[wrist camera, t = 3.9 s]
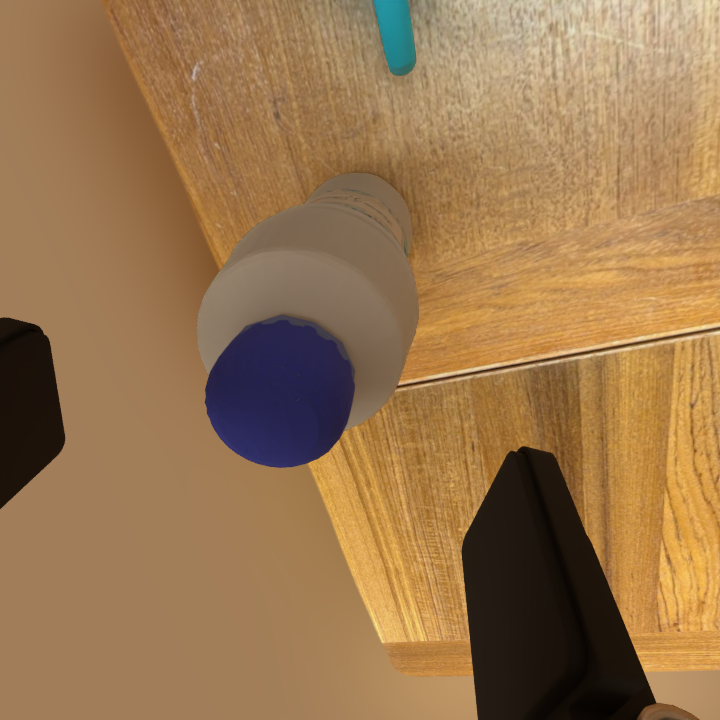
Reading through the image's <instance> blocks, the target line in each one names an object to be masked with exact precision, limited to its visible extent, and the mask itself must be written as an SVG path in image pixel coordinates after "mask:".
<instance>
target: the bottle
mask: <svg viewBox="0 0 720 720" xmlns="http://www.w3.org/2000/svg"><path fill="white" fill-rule="evenodd" d="M412 235H413V229H412V220H411V216H410V212H409V209H408V206H407V204H406V202H405V200H404V199H403V198H402V196H401V195H400V194H399V193H398V192H397V190H396V189H395V188H394V187H392V186H391V185H390V184H389V183H387V182H386V181H385V180H384V179H382V178H380V177H379V176H376V175H373V174H370V173H347V174H341V175H338V176H336V177H333V178H331V179H329V180H327V181H325V182H324V183H323V184H322V185H320V186H319V187H318V188H317V189H316V190H315V191H314V192H313V193H312V194H311V195H310V197H309V198H308V199H307V201H306V202H305V203H304V204H303V205H298V206H294V207H291V208H288V209H286V210H284V211H282V212H280V213H277V214H275V215H274V216H271V217H269V218H267V219H265V220H263V221H262V222H260V223H258V224H257V225H256V226H255V227H253V228H252V229H251V230H250V231H249V232H248V233H246V234H245V235H244V236H243V237H242V239H241V240H240V241H239V243H238V244H237V245H236V246H235V248H234V249H233V251H232V253H231V255H230V257H229V259H228V260H227V262H226V263H225V265H224V266H223V267H222V269H221V270H220V272H219V273H218V274H217V276H216V277H215V278H214V280H213V281H212V283H211V285H210V286H209V288H208V290H207V291H206V293H205V295H204V297H203V301H202V303H201V307H200V310H199V314H198V325H197V339H198V346H199V353H200V355H201V358H202V361H203V364H204V367H205V369H206V371H207V373H208V374H209V378H208V381H207V385H206V389H205V392H206V399H205V404H206V407H207V414H208V416H209V418H210V421H211V424H212V426H213V428H214V430H215V431H216V433H217V434H218V436H219V437H220V439H221V440H222V441H223V442H224V443H225V444H226V445H227V446H228V447H229V448H230V449H232V450H233V451H234V452H235V453H237V454H238V455H240V456H242V457H244V458H245V459H247V460H250V461H252V462H255V463H257V464H261V465H265V466H269V467H279V468H283V467H294V466H298V465H302V464H306V463H309V462H311V461H313V460H316V459H318V458H320V457H321V456H323V455H324V454H326V453H327V452H329V450H330V449H331V448H332V447H333V446H334V444H335V443H336V442H337V441H338V440H339V439H340V437H341V435H342V433H343V431H345V430H348V429H350V428H352V427H355V426H357V425H359V424H361V423H363V422H364V421H366V420H367V419H369V418H370V417H372V416H373V415H375V414H376V413H377V412H378V411H379V410H380V409H381V408H382V407H383V406H384V405H385V404H386V403H387V401H388V400H389V398H390V397H391V395H392V394H393V393H394V391H395V389H396V387H397V385H398V383H399V380H400V377H401V374H402V371H403V368H404V365H405V361H406V358H407V354H408V351H409V348H410V346H411V344H412V341H413V339H414V336H415V333H416V328H417V323H418V316H419V305H418V295H417V290H416V284H415V279H414V274H413V271H412V268H411V266H410V263H409V260H408V257H409V254H410V250H411V245H412Z"/></svg>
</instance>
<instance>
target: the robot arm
mask: <svg viewBox="0 0 720 720" xmlns="http://www.w3.org/2000/svg"><path fill="white" fill-rule="evenodd" d="M64 443H65V433H64V427H63V421H62V414H61V408H60V403H59V396H58V390H57V384H56V378H55V371H54V365H53V359H52V353H51V346H50V341H49V339H48V337H47V336H46V335H44V333H43V331H42V330H41V328H40V327H39V326H37V325H35V324H31V323H27V322H23V321H19V320H15V319H11V318H0V509H1V508H2V507H3V506H4V505H5V504H6V503H7V502H8V501H9V500H10V499H12V498H13V497H14V496H15V495H16V494H17V493H18V492H19V491H20V490H21V489H22V488H23V487H24V486H25V485H27V484H28V483H29V482H30V481H31V480H32V479H33V478H34V477H35V476H36V475H37V474H38V473H39V472H40V471H41V470H42V469H44V467H46V466H47V465H48V464H49V463H50V462H51V461H52V460H53V459H54V458H55V457H56V456H57V455H58V454H59V453H60V452H61V450H62V448H63V446H64ZM462 562H463V572H464V582H465V593H466V603H467V613H468V623H469V633H470V643H471V654H472V664H473V674H474V684H475V694H476V704H477V715H478V720H699V719H698V718H697V717H695V716H694V715H693V714H691V713H689V712H687V711H685V710H683V709H680V708H678V707H676V706H674V705H668V704H662V703H656V701H655V698H654V696H653V693H652V691H651V689H650V686H649V683H648V681H647V679H646V676H645V674H644V671H643V669H642V666H641V664H640V661H639V659H638V656H637V654H636V651H635V649H634V646H633V644H632V642H631V639H630V637H629V634H628V632H627V629H626V627H625V624H624V622H623V619H622V617H621V614H620V612H619V609H618V607H617V605H616V602H615V600H614V597H613V595H612V592H611V590H610V587H609V585H608V582H607V580H606V577H605V575H604V572H603V570H602V568H601V565H600V563H599V560H598V558H597V555H596V553H595V550H594V548H593V545H592V543H591V541H590V539H589V538H588V536H587V535H586V532H585V530H584V527H583V525H582V522H581V520H580V517H579V515H578V512H577V510H576V507H575V505H574V502H573V500H572V497H571V495H570V492H569V490H568V487H567V485H566V482H565V480H564V477H563V475H562V472H561V470H560V467H559V465H558V462H557V460H556V458H555V456H554V455H553V454H552V453H549V452H545V451H541V450H537V449H533V448H529V447H525V446H523V447H521V448H519V449H518V451H517V452H515V451H510V452H509V453H508V454H507V456H506V458H505V460H504V462H503V464H502V466H501V468H500V469H499V471H498V473H497V475H496V477H495V479H494V481H493V483H492V485H491V487H490V489H489V491H488V493H487V495H486V497H485V499H484V500H483V502H482V504H481V506H480V508H479V510H478V512H477V514H476V516H475V518H474V520H473V522H472V524H471V526H470V528H469V530H468V531H467V533H466V535H465V538H464V541H463V545H462Z"/></svg>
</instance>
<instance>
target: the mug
mask: <svg viewBox="0 0 720 720" xmlns="http://www.w3.org/2000/svg"><path fill="white" fill-rule="evenodd" d="M373 1H374V6H375V11H376V15H377V20H378V25H379V29H380V34H381V39H382V43H383V47H384V52H385V56H386V60H387V64H388V67H389V70H390V72H391V73H392V74H394V75H397V76H402V75H406V74H408V73H409V72H411V71H412V70H413V68H414V67H415V64H416V52H415V44H414V37H413V30H412V23H411V16H410V10H409V3H408V0H373Z"/></svg>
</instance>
